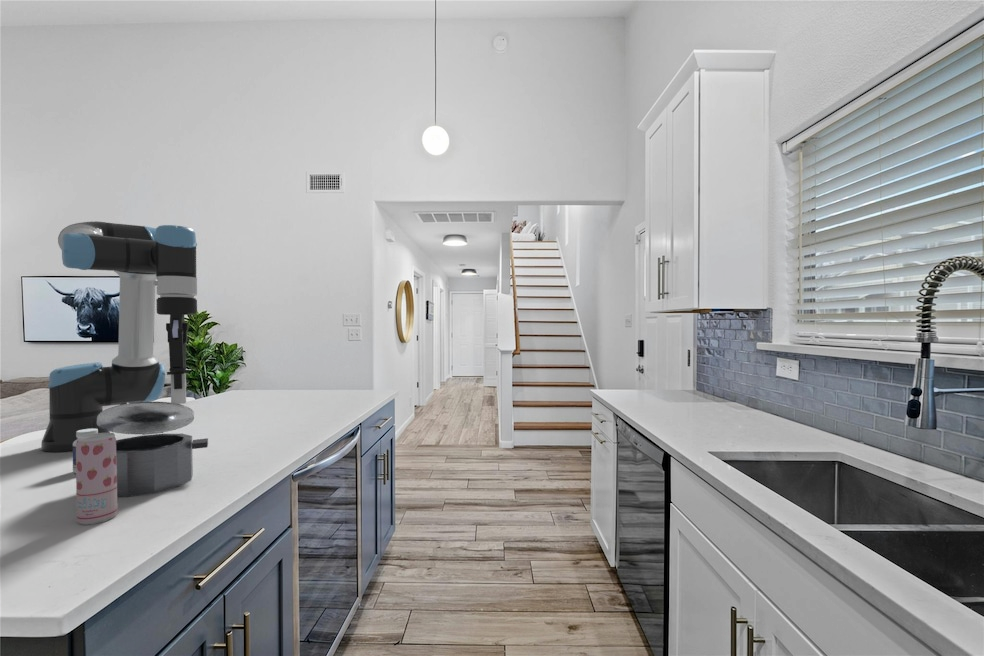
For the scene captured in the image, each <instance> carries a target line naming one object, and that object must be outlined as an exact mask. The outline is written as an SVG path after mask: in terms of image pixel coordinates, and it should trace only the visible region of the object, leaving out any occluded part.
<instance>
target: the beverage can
mask: <svg viewBox="0 0 984 656" xmlns="http://www.w3.org/2000/svg"><path fill="white" fill-rule="evenodd" d="M116 440H117V438H116V434H115V433H114V432H110V433H95V434H89V435H84V436H81V437H78V439H77V443H76V473H75V481H76V482H75V484H76V485H75V487H76V490H75V492H76V495H75V496H76V497H75V499H76V522H77V523H78V524H80V525H84V526H85V525H95V524H99V523H104V522H106V521H109V520H111V519H113V518H115V516H116V515H118V512H119V511H118V497H117V459H116Z"/></svg>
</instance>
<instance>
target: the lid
mask: <svg viewBox="0 0 984 656" xmlns="http://www.w3.org/2000/svg"><path fill="white" fill-rule="evenodd" d="M194 420H195V412H194V410H193V409H192V408H190V407H188V405H183V404H176V403H171V401H170V402H168V401H149V402H136V403H121V404H120V405H113V406H111V407H109V408H107V409H103V411H102V412H101V413H100V414H99V415H98V416H97V425H98V426H99V427H100V428H101V429H104V430H106V431H109V432H110V433H114V434H115V433H116V434H120V435H121V434H124V435H141V436H144V435H155V434H164V433H168V432H172V431H175V430H179V429H182V428H185V427H187V426H188V425H190V424H192V422H194Z"/></svg>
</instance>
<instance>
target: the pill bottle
mask: <svg viewBox="0 0 984 656" xmlns="http://www.w3.org/2000/svg"><path fill="white" fill-rule="evenodd" d="M95 433H98V429H83V430H79V431H76V437H77V438H78V437H81V436H84V435H89V434H95ZM76 443H77V440H75V441H74V442H73V450H72V473H74V474H76Z"/></svg>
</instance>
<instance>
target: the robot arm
mask: <svg viewBox="0 0 984 656" xmlns="http://www.w3.org/2000/svg"><path fill="white" fill-rule="evenodd" d="M196 238H197V236H196V232H195V230H194V229H193V228H191V227H188V226H182V225H175V224H164V225H162V224H161V225H158V226H157V227H150V226H145V225H134V224H127V223H125V224H124V223H116V222H115V223H114V222H105V221H84V222H77V223H76V222H75V223H72V224H69V225H67V226H66V227H64V228H63V229H62V230H61V231H60V232H59V234H58V237H57V244H58V246H59V249H60V250H61V259H62V265H63V266H64V267H65V268H68V269H77V270H82V271H88V270H89V271H90V270H92V271H93V270H94V271H109V272H110V271H112V272H115V274H117V275H118V276H119V297H118V298H119V303H118V304H119V307H118V310H119V311H118V347H117V348H118V351H117V352H118V353H117V355H116V356H115V357H113V358H112V360H111V366H103V364H102V362H97V361H96V362H88V363H82V364H81V363H80V364H73V365H68V366H63V367H59V368H55V369H53V370H52V371H51V372H50V373H49V377H48V380H49V381H48V385H47V388H48V391H49V399H48V400H49V404H48V405H49V408H48V409H49V422H48V424H47V428H46V429H45V431H44V432H45V433H44V435H43V437H42V440H41V451H42V452H49V453H51V452H52V453H54V452H55V453H56V452H58V453H59V452H73V442H74V441H75V440H77V439H78V438H77V437H76V431H79V430H83V429H98V433H111V432H110V431H106V430H104V429H101V428H100V427H99V426H98V425H97V416H98V415H99V414H100V413H101V412H102V411H104V409H103V408H104V407H109V406H111V407H112V406H118V405H120V404H121V403H136V402H155V401H156V400H158V399H159V398H160V397H161V396H162V393H163V390H164V388H165V387H164V386H165V379H166V376H165V374H166V375H167V376H168V375H169V376H170V403H176V404H181V405H183V404H187V374H189V373H190V370H189V369H187V343H188V331H189V322H185V316H189V315H190V316H192V315H193V316H194V315H197V313H198V299H196V296H197V295H198V278H197V246H198V243H197V239H196ZM156 280H157V281H156ZM156 295H158V296H159V297H157V298H156ZM155 305H156V306H155ZM155 307H156V309H155ZM155 310H156V311H155ZM155 312H156V314H158V315H160V316H161V315H163V316H169V323H167V322H166V323H165V330H166V331H167V343H168V352H169V353H168V354H169V371H166V369H165V366H164V365H163V363H160V362H159V361H160V360H159V358H157V356H155V354H154V340H155V339H154V337H155V336H154V335H155V334H154V333H155Z"/></svg>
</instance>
